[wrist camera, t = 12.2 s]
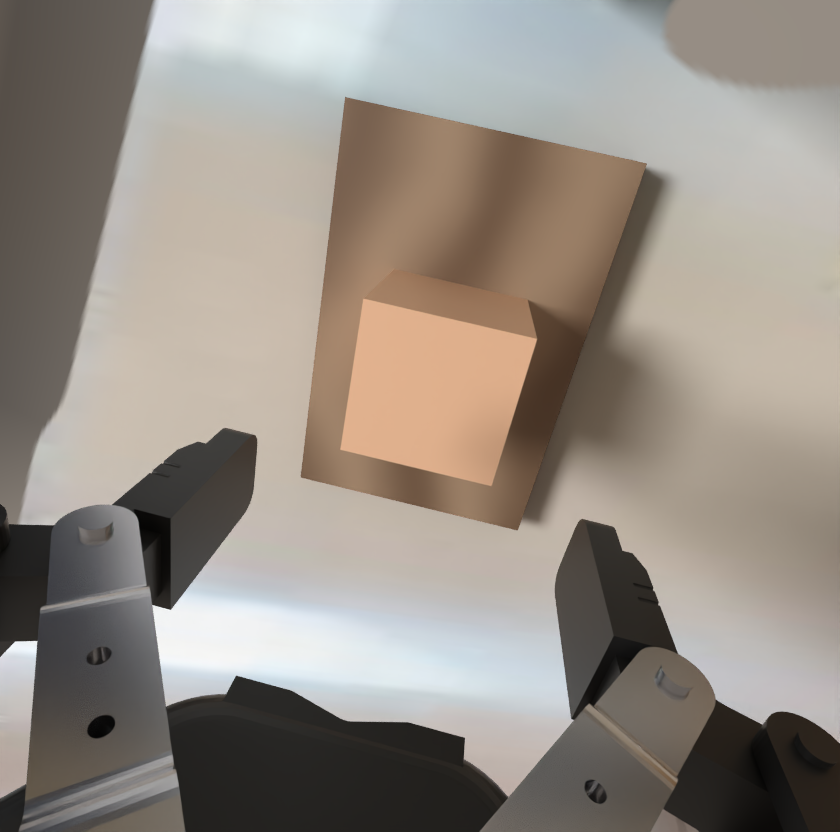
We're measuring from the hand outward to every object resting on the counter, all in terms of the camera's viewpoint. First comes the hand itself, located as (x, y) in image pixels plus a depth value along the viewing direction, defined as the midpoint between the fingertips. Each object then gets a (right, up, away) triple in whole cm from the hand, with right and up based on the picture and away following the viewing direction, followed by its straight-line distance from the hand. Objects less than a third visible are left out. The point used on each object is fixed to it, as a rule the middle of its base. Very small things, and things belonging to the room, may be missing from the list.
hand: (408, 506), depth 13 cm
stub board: (+2, +6, +13) cm, 14 cm away
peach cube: (+1, +5, +12) cm, 13 cm away
